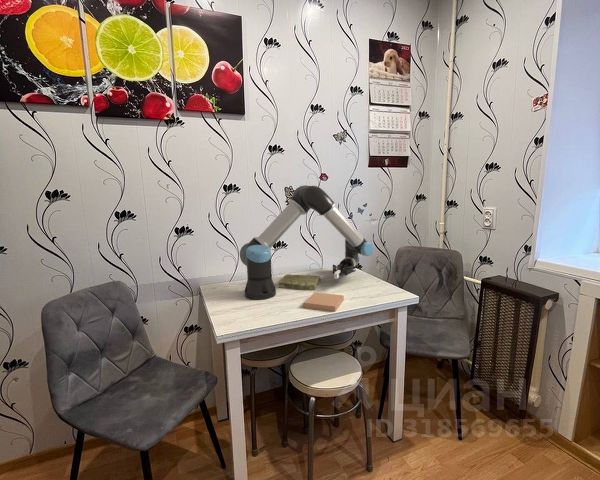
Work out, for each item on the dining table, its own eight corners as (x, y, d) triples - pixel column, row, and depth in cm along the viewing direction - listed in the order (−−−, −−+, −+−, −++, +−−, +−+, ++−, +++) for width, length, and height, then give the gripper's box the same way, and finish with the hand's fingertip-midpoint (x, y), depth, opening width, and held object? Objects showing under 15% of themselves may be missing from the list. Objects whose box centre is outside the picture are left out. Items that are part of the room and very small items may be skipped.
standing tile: (314, 297, 153) (303, 308, 140) (314, 292, 153) (303, 302, 140) (343, 301, 148) (335, 312, 135) (343, 295, 148) (335, 306, 135)
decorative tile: (285, 279, 184) (285, 273, 183) (320, 280, 180) (320, 274, 179) (276, 289, 166) (276, 283, 165) (315, 291, 162) (315, 284, 161)
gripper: (359, 272, 179) (348, 284, 157) (336, 270, 184) (323, 282, 162) (359, 259, 178) (348, 269, 156) (336, 257, 182) (322, 267, 161)
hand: (335, 276), depth 159 cm, fingers closed
